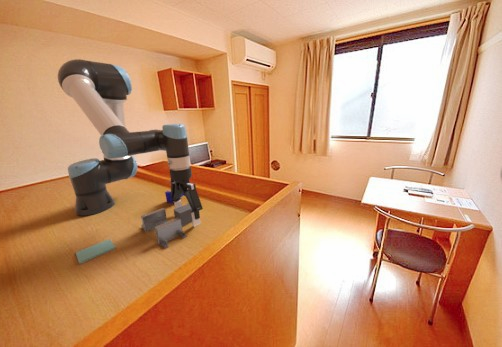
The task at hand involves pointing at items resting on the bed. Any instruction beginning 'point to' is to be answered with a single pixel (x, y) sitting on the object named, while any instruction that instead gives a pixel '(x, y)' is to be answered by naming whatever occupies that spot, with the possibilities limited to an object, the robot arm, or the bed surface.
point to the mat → (94, 251)
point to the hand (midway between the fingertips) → (188, 220)
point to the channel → (162, 226)
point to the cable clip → (168, 197)
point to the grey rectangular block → (184, 214)
